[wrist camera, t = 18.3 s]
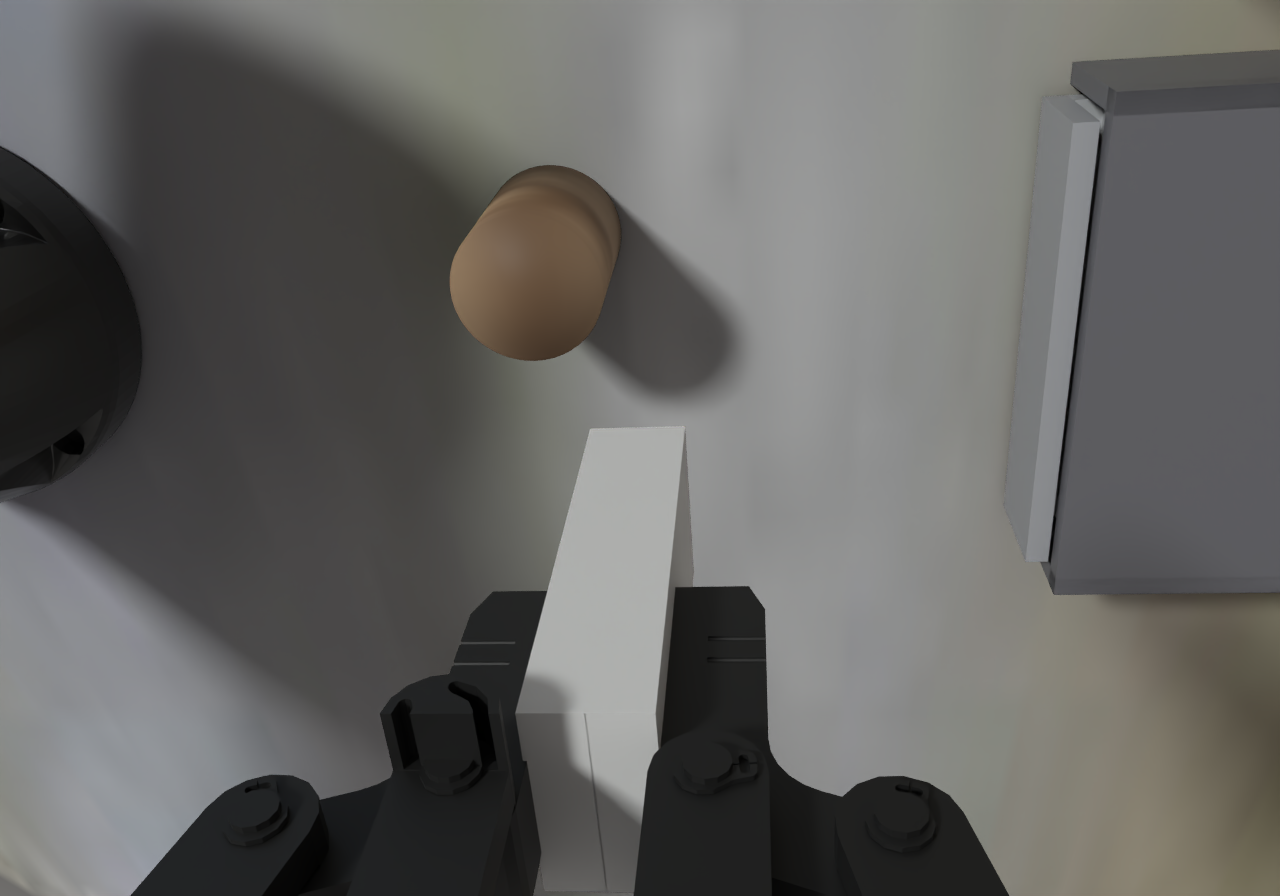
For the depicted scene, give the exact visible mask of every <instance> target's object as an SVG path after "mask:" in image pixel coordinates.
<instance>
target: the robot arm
mask: <svg viewBox="0 0 1280 896" xmlns="http://www.w3.org/2000/svg"><path fill="white" fill-rule="evenodd" d="M140 370H141V338H140V329H139V324H138V319H137V314H136V311H135V307H134V303H133V300H132V297H131V294H130V291H129V289H128V286H127V284H126V281H125V279H124V277H123V275H122V273H121V271H120V268H119V266H118V264H117V262H116V261H115V259H114V257H113V255H112V254H111V252H110V250H109V249H108V247H107V246H106V244H105V243H104V241H103V240H102V238H101V236H100V235H99V234H98V232H97V231H96V230H95V228H94V227H93V226H92V224H91V223H90V222H89V221H88V219H87V218H86V217H85V216H84V215H83V214H82V212H81V211H80V210H79V209H78V208H77V207H76V206H75V205H74V204H73V203H72V202H71V200H70V199H69V198H68V197H67V196H65V195H64V194H63V193H62V192H61V191H60V190H59V189H58V188H57V187H56V186H55V185H54V184H52V183H51V182H50V181H49V180H48V179H46V178H45V177H44V176H43V175H41V174H40V173H39V172H37V171H36V170H35V169H33V168H32V167H31V166H29V165H28V164H26V163H25V162H23V161H22V160H20V159H19V158H17V157H16V156H14V155H12V154H11V153H9V152H7V151H6V150H4V149H2V148H0V502H3V501H6V500H9V499H12V498H15V497H18V496H21V495H24V494H27V493H30V492H33V491H36V490H38V489H41V488H44V487H46V486H48V485H50V484H52V483H54V482H56V481H57V480H59V479H61V478H63V477H64V476H66V475H67V474H69V473H71V472H72V471H73V470H75V469H76V468H77V467H79V466H80V465H81V464H82V463H83V462H84V461H85V460H86V459H87V458H88V457H89V456H91V455H92V454H93V453H94V452H95V451H96V450H97V449H98V448H99V447H100V446H101V445H102V444H103V443H104V442H106V441H107V440H108V439H109V438H110V437H111V436H112V434H113V433H114V432H115V431H116V430H117V429H118V427H119V426H120V424H121V423H122V421H123V420H124V418H125V416H126V415H127V413H128V411H129V409H130V407H131V404H132V402H133V399H134V396H135V394H136V391H137V386H138V382H139V377H140ZM693 574H694V567H693V551H692V534H691V517H690V501H689V484H688V467H687V451H686V434H685V426H673V427H635V428H598V429H590V431H589V435H588V439H587V443H586V447H585V450H584V454H583V458H582V462H581V466H580V469H579V473H578V477H577V481H576V485H575V488H574V492H573V496H572V500H571V504H570V507H569V511H568V515H567V519H566V523H565V526H564V530H563V534H562V538H561V541H560V545H559V549H558V553H557V557H556V560H555V564H554V568H553V572H552V576H551V579H550V583H549V587H548V591H508V592H492V593H491V594H490V595H489V596H488V597H487V598H486V599H485V600H484V601H483V602H482V603H481V604H480V605H479V606H478V607H477V608H476V610H475V611H474V612H473V613H472V614H471V615H470V617H469V620H468V623H467V626H466V629H465V631H464V634H463V637H462V640H461V641H462V643H461V645H460V646H459V648H458V651H457V654H456V657H455V660H454V666H452V668H451V671H450V674H448V675H440V676H432V677H428V678H426V679H423V680H421V681H418V682H416V683H413V684H410V685H408V686H407V687H405V688H404V689H403V690H401V691H400V692H399V693H397V694H396V695H394V696H393V697H392V698H391V699H390V700H389V702H388V703H387V704H386V706H385V707H384V709H383V710H382V712H381V713H380V716H381V720H382V725H383V729H384V733H385V737H386V741H387V746H388V750H389V754H390V758H391V763H392V767H393V773H392V775H391V778H389V779H387V780H385V781H383V782H381V783H380V784H377V785H374V786H371V787H368V788H365V789H362V790H359V791H355V792H351V793H347V794H343V795H339V796H335V797H330V798H326V799H322V800H319V796H318V795H317V793H316V792H315V790H314V789H313V788H312V786H311V785H310V784H309V783H308V782H306V781H304V780H301V779H299V778H297V777H294V776H290V775H267V776H263V777H259V778H255V779H251V780H247V781H245V782H243V783H241V784H239V785H237V786H235V787H233V788H231V789H229V790H227V791H225V792H224V793H223V794H222V795H220V796H219V797H218V798H217V799H216V800H215V801H214V802H212V803H211V804H210V805H209V806H208V807H207V808H206V809H205V810H204V811H203V812H202V813H201V815H200V816H199V817H198V818H197V819H196V820H195V822H194V823H193V824H192V825H191V826H190V827H189V828H188V830H187V831H186V832H185V833H184V834H183V835H182V837H181V838H180V839H179V840H178V841H177V842H176V844H175V845H174V846H173V847H172V848H171V849H170V850H169V852H168V853H167V854H166V855H165V856H164V857H163V859H162V860H161V861H160V862H159V863H158V864H157V865H156V867H155V868H154V869H153V870H152V871H151V872H150V874H149V875H148V876H147V877H146V878H145V879H144V881H143V882H142V883H141V884H140V885H139V886H138V887H137V889H136V890H135V891H134V892H133V893H132V894H131V896H533V893H534V888H535V883H536V878H537V873H538V868H539V863H540V869H541V875H542V881H543V887H544V891H565V892H620V893H634V896H1009V894H1008V893H1007V891H1006V889H1005V887H1004V885H1003V883H1002V882H1001V880H1000V878H999V876H998V874H997V873H996V871H995V869H994V867H993V865H992V863H991V862H990V860H989V858H988V856H987V854H986V852H985V851H984V849H983V847H982V845H981V843H980V842H979V840H978V838H977V836H976V834H975V832H974V831H973V829H972V827H971V825H970V823H969V821H968V820H967V818H966V816H965V814H964V812H963V811H962V810H961V809H960V808H959V806H958V805H957V804H956V803H955V802H954V800H953V799H952V798H951V797H950V796H949V795H948V794H946V793H945V792H943V791H941V790H940V789H938V788H936V787H935V786H933V785H931V784H930V783H928V782H924V781H920V780H916V779H912V778H909V777H905V776H887V777H876V778H873V779H871V780H868V781H865V782H862V783H859V784H857V785H856V786H854V787H853V788H852V789H851V790H850V791H849V792H847V793H846V794H845V795H844V796H843V797H841V796H837V795H833V794H830V793H826V792H822V791H819V790H817V789H814V788H811V787H809V786H806V785H804V784H802V783H800V782H799V781H797V780H796V779H794V778H792V777H791V776H789V775H788V774H787V773H786V772H785V771H784V770H783V769H782V768H781V767H780V766H779V765H778V764H777V762H776V760H775V758H774V757H773V755H772V753H771V750H770V745H769V740H768V711H767V672H766V632H765V609H764V607H763V606H762V604H761V603H760V602H759V600H758V599H757V597H756V596H755V594H754V593H753V592H752V590H751V589H750V587H749V586H735V587H693Z"/></svg>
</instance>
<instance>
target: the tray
mask: <svg viewBox="0 0 1280 896" xmlns="http://www.w3.org/2000/svg"><path fill="white" fill-rule="evenodd" d="M1105 113H1106V110H1105V109H1103V108H1102V107H1101V106H1099V105H1098V104H1097V103H1095V102H1094V101H1093V100H1091V99H1090V98H1089V97H1087V96H1086V95H1085V94H1078V95H1060V96H1042V106H1041V116H1040V127H1039V137H1038V148H1037V159H1036V169H1035V180H1034V190H1033V201H1032V211H1031V222H1030V233H1029V243H1028V254H1027V264H1026V275H1025V285H1024V296H1023V307H1022V317H1021V328H1020V338H1019V349H1018V359H1017V370H1016V381H1015V391H1014V402H1013V412H1012V423H1011V433H1010V444H1009V455H1008V465H1007V476H1006V486H1005V497H1004V508H1005V510H1006V513H1007V515H1008V518H1009V521H1010V523H1011V526H1012V528H1013V531H1014V533H1015V536H1016V539H1017V541H1018V544H1019V546H1020V549H1021V551H1022V554H1023V557H1024V559H1025V562H1048V556H1049V548H1050V539H1051V531H1052V523H1053V515H1055V517H1057V509H1058V501H1059V492H1060V484H1061V476H1062V468H1063V459H1064V451H1065V443H1066V435H1067V426H1068V418H1069V410H1070V402H1071V393H1072V385H1073V377H1074V369H1075V361H1076V352H1077V344H1078V336H1079V328H1080V319H1081V311H1082V303H1083V295H1084V286H1085V278H1086V270H1087V262H1088V253H1089V245H1090V237H1091V229H1092V220H1093V212H1094V204H1095V196H1096V187H1097V179H1098V171H1099V163H1100V154H1101V146H1102V138H1103V130H1104V121H1105Z"/></svg>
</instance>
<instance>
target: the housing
mask: <svg viewBox="0 0 1280 896" xmlns="http://www.w3.org/2000/svg"><path fill="white" fill-rule="evenodd" d="M1070 84H1071V85H1073V86H1074V87H1075V88H1077V89H1078V90H1079V91H1081V92H1082V93H1083V94H1085V95H1086V96H1087V97H1089V98H1090V99H1091V100H1093V101H1094V102H1095V103H1097V104H1098V105H1099V106H1101V107H1102V108H1103V109H1105V110H1106V113H1105V121H1104V130H1103V138H1102V146H1101V154H1100V163H1099V171H1098V179H1097V187H1096V196H1095V204H1094V212H1093V220H1092V229H1091V237H1090V245H1089V253H1088V262H1087V270H1086V278H1085V286H1084V295H1083V303H1082V311H1081V319H1080V328H1079V336H1078V344H1077V352H1076V361H1075V369H1074V377H1073V385H1072V393H1071V402H1070V410H1069V418H1068V426H1067V435H1066V443H1065V451H1064V459H1063V468H1062V476H1061V484H1060V492H1059V501H1058V509H1057V517H1055V515H1053V523H1052V531H1051V539H1050V548H1049V556H1048V562H1041V565H1042V567H1043V570H1044V572H1045V575H1046V577H1047V579H1048V582H1049V584H1050V587H1051V589H1052V592H1053V594H1054V595H1083V594H1182V593H1280V50H1267V51H1250V52H1234V53H1217V54H1200V55H1183V56H1166V57H1149V58H1132V59H1115V60H1099V61H1082V62H1073V64H1072V73H1071V83H1070Z"/></svg>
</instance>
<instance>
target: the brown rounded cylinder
mask: <svg viewBox="0 0 1280 896" xmlns="http://www.w3.org/2000/svg"><path fill="white" fill-rule="evenodd" d="M620 244H621V226H620V220H619V217H618V213H617V211H616V208H615V206H614V204H613V202H612V201H611V199H610V197H609V196H608V195H607V193H606V192H605V191H604V189H603V188H602V187H601V186H600V185H599V184H598V183H596V182H595V181H594V180H592V179H591V178H590V177H588V176H586V175H585V174H583V173H581V172H579V171H576V170H574V169H571V168H567V167H563V166H556V165H544V166H537V167H533V168H529V169H527V170H524V171H522V172H520V173H518V174H516V175H515V176H513V177H512V178H511V179H509V180H508V181H507V182H506V183H505V184H504V185H503V186H502V187H501V188H500V190H499V191H498V193H497V194H496V195H495V197H494V198H493V200H492V201H491V203H490V204H489V205H488V207H487V208H486V210H485V211H484V212H483V214H482V215H481V217H480V218H479V220H478V221H477V222H476V224H475V225H474V227H473V228H472V230H471V231H470V232H469V234H468V235H467V237H466V238H465V239H464V241H463V242H462V244H461V245H460V247H459V248H458V250H457V252H456V254H455V257H454V260H453V263H452V266H451V272H450V292H451V297H452V301H453V304H454V307H455V310H456V312H457V314H458V316H459V318H460V320H461V321H462V323H463V324H464V326H465V327H466V328H467V330H468V331H469V332H470V333H471V334H472V335H473V336H474V337H475V338H476V339H477V340H478V341H479V342H481V343H482V344H483V345H485V346H486V347H488V348H489V349H491V350H493V351H495V352H497V353H499V354H501V355H504V356H506V357H510V358H514V359H519V360H527V361H538V360H546V359H551V358H555V357H557V356H560V355H563V354H565V353H567V352H569V351H571V350H572V349H574V348H575V347H576V346H578V345H579V344H580V343H581V342H582V341H583V340H584V339H586V337H587V336H588V335H589V334H590V332H591V331H592V329H593V328H594V326H595V324H596V322H597V320H598V318H599V315H600V312H601V309H602V305H603V302H604V299H605V296H606V292H607V289H608V286H609V283H610V279H611V276H612V273H613V270H614V266H615V263H616V260H617V257H618V253H619V249H620Z"/></svg>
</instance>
